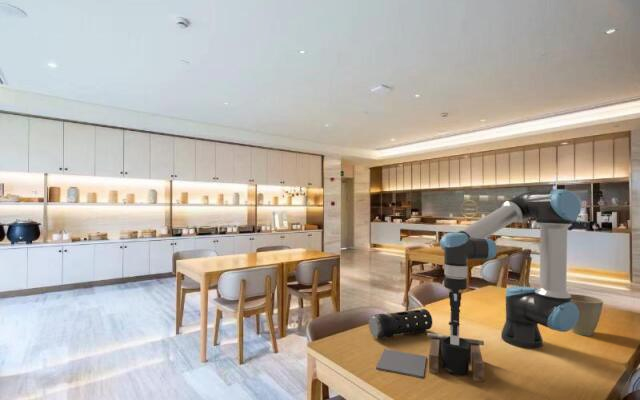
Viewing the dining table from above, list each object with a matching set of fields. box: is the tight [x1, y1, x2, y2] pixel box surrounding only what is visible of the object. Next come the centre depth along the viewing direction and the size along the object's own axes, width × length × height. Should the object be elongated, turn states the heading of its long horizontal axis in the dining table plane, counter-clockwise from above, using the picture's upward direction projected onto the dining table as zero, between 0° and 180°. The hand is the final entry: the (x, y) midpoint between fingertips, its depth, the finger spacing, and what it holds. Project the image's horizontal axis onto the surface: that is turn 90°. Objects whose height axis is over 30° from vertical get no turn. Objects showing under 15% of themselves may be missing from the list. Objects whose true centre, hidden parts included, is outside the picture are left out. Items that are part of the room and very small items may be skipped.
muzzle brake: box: [368, 308, 433, 339], centre depth 147 cm, size 10×28×10 cm, turn 111°
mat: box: [375, 348, 427, 379], centre depth 121 cm, size 16×16×1 cm
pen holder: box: [441, 337, 470, 377], centre depth 116 cm, size 9×9×10 cm
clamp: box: [426, 332, 485, 383], centre depth 120 cm, size 20×17×8 cm
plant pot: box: [569, 293, 604, 337], centre depth 152 cm, size 15×15×16 cm
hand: (454, 337), depth 116 cm, fingers open, 13 cm apart
